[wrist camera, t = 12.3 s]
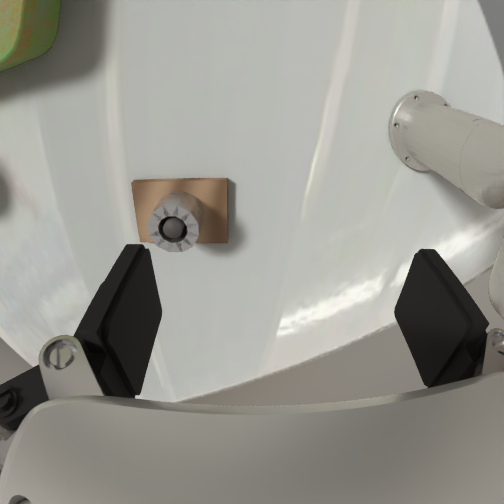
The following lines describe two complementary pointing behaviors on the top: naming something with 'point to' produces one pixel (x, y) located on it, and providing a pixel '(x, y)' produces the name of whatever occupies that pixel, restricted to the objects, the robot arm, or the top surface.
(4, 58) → the first aid kit
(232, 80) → the top surface
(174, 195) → the steel ring
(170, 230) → the post block
